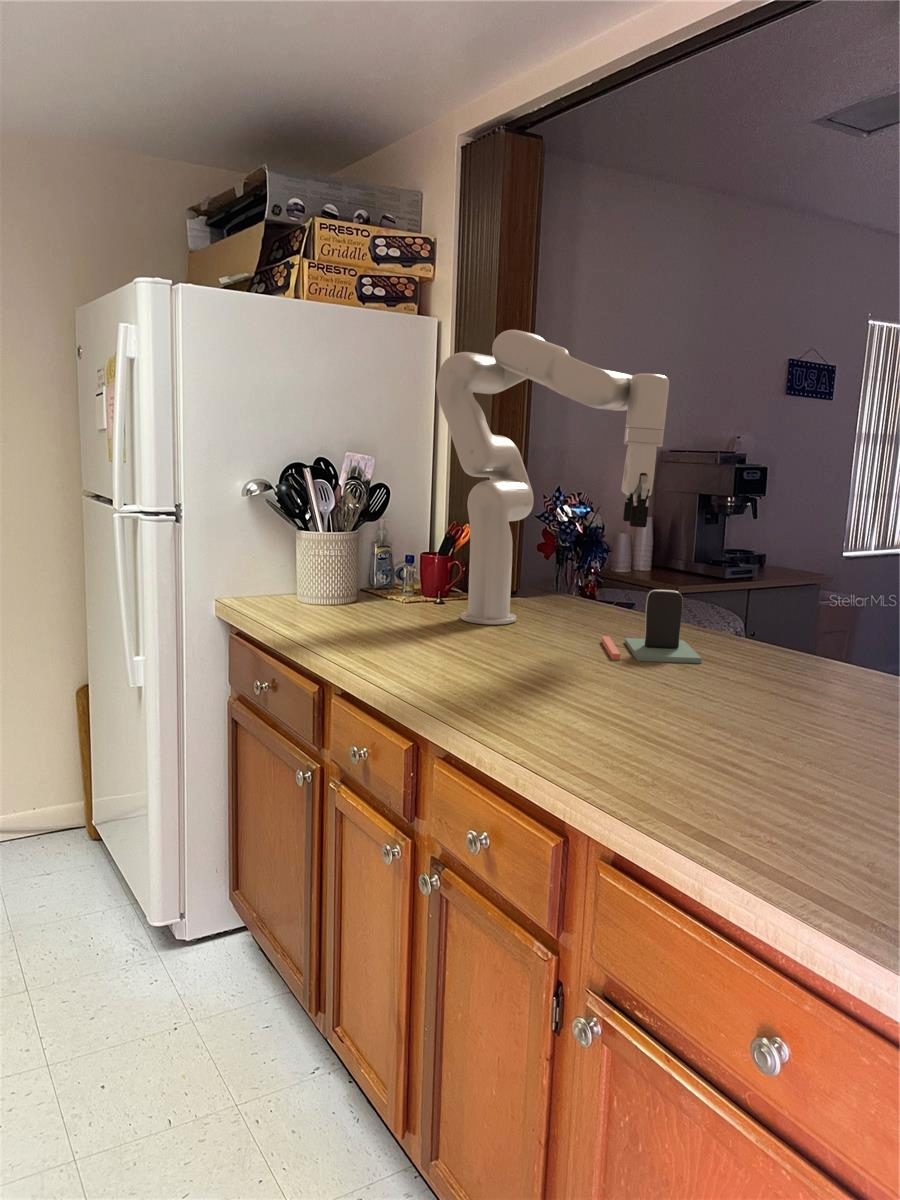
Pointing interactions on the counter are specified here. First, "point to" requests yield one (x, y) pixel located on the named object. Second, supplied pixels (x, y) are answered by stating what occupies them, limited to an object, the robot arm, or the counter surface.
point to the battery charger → (663, 618)
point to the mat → (662, 652)
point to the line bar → (610, 648)
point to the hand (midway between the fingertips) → (634, 524)
